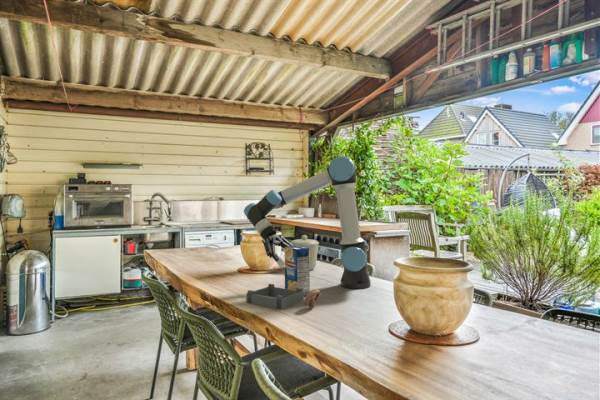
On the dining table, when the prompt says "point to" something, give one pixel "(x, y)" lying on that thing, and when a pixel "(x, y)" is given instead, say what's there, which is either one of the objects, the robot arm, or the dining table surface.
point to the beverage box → (297, 268)
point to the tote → (283, 296)
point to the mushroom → (311, 298)
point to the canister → (309, 244)
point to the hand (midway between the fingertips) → (291, 263)
